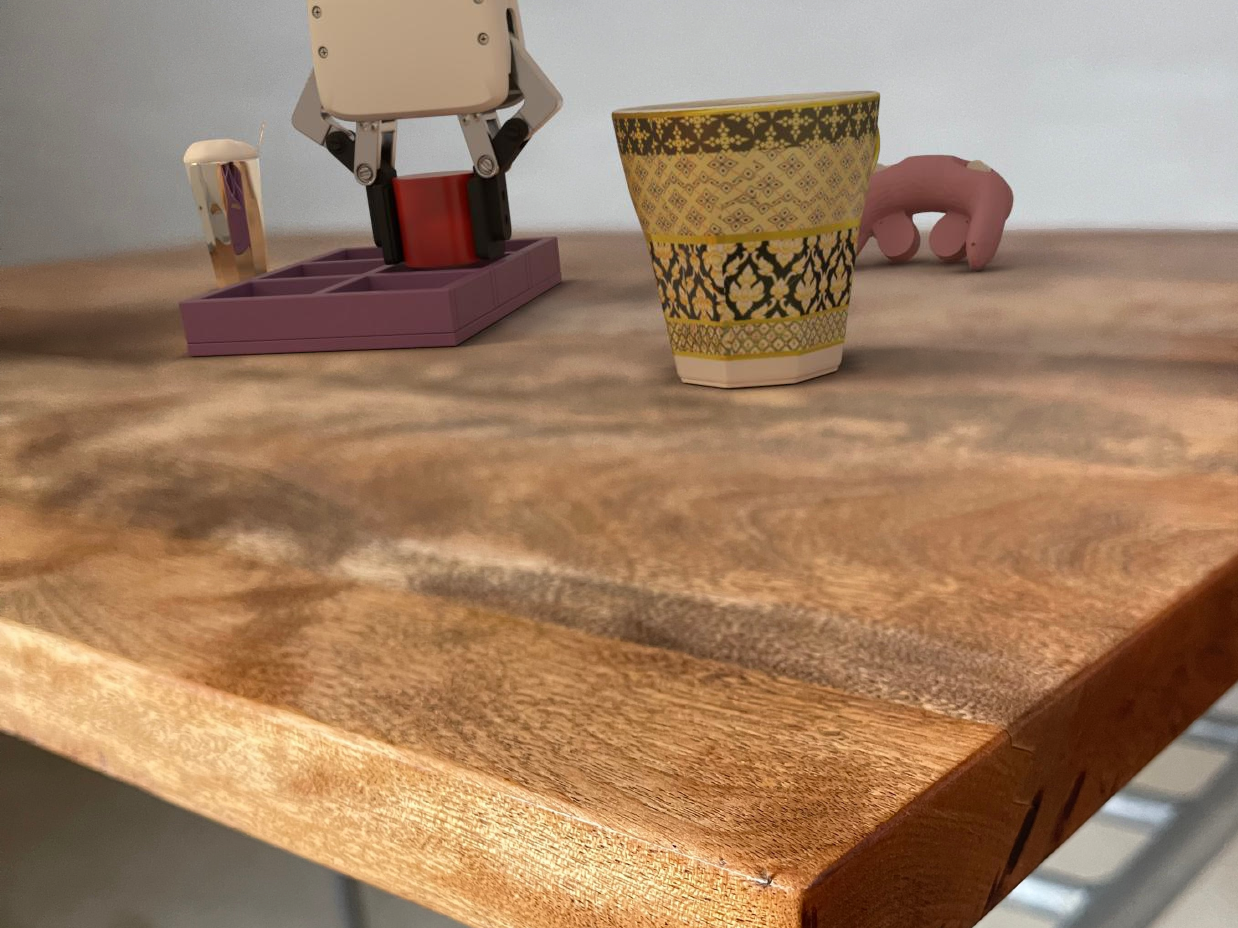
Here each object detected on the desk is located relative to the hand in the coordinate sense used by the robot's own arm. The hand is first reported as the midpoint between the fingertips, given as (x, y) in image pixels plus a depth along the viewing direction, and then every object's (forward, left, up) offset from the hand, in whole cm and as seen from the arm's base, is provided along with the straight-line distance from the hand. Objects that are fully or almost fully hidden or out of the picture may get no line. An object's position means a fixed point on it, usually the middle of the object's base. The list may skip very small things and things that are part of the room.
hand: (445, 255), depth 76 cm
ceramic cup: (+20, -17, -3) cm, 26 cm away
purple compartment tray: (-3, 0, -3) cm, 4 cm away
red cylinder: (0, 0, 0) cm, 0 cm away
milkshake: (-18, +14, -3) cm, 23 cm away
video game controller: (+25, +10, -3) cm, 27 cm away
